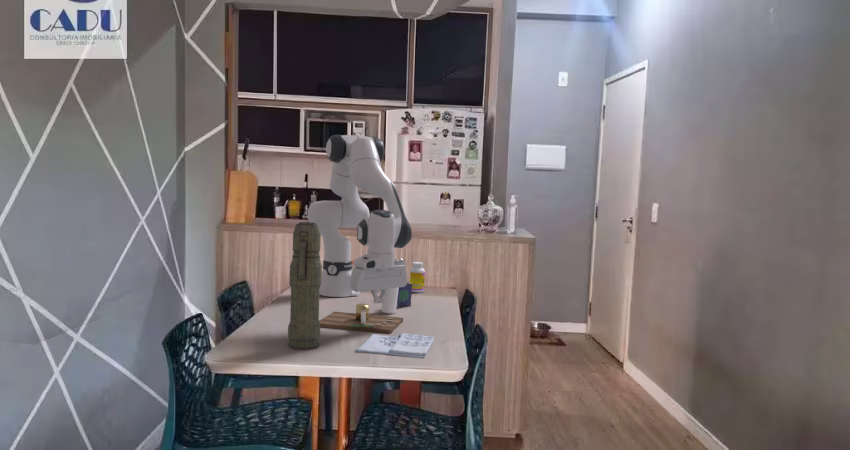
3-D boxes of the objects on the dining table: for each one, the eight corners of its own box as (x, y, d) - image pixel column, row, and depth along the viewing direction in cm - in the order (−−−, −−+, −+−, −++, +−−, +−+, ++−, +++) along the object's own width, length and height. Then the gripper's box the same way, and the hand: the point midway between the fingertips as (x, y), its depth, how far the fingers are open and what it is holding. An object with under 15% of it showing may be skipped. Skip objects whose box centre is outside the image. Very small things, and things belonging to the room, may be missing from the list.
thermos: (284, 351, 154) (288, 223, 151) (290, 339, 165) (293, 221, 163) (317, 351, 155) (321, 225, 152) (321, 339, 166) (324, 222, 164)
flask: (394, 309, 212) (395, 280, 211) (389, 307, 214) (390, 279, 213) (412, 306, 218) (413, 278, 218) (407, 304, 220) (408, 277, 220)
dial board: (334, 314, 198) (334, 310, 198) (403, 321, 193) (403, 316, 193) (315, 326, 181) (315, 322, 181) (390, 334, 176) (390, 329, 176)
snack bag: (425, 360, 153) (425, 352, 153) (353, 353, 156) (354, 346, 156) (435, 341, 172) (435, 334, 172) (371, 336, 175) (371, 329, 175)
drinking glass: (395, 315, 202) (397, 273, 201) (377, 313, 203) (378, 272, 202) (400, 311, 208) (401, 271, 207) (382, 309, 210) (384, 269, 209)
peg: (355, 317, 191) (356, 303, 190) (368, 317, 191) (369, 303, 191) (356, 326, 179) (356, 311, 179) (370, 326, 180) (370, 311, 180)
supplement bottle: (424, 293, 245) (425, 264, 244) (408, 292, 245) (410, 263, 244) (424, 290, 252) (425, 261, 251) (409, 289, 252) (410, 261, 251)
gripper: (400, 257, 191) (398, 297, 192) (348, 260, 178) (346, 303, 179) (412, 260, 186) (409, 301, 187) (359, 264, 173) (357, 308, 174)
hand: (378, 302), depth 183 cm, fingers closed
